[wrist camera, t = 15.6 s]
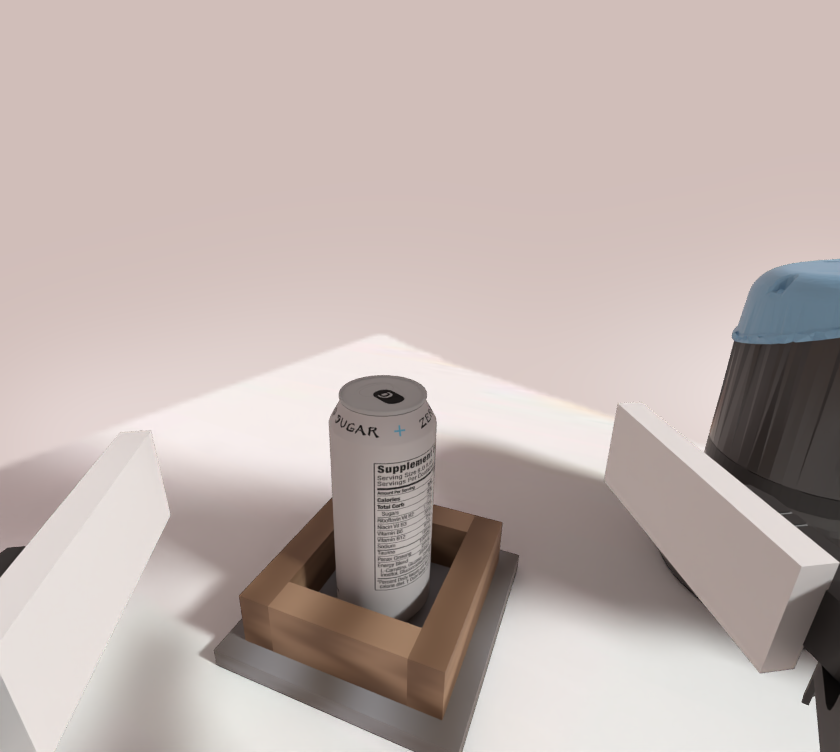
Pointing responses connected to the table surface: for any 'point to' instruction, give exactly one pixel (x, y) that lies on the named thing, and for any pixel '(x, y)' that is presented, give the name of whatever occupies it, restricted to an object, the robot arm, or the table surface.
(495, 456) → the table surface
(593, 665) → the table surface
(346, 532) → the energy drink can
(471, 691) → the brown wooden open box
